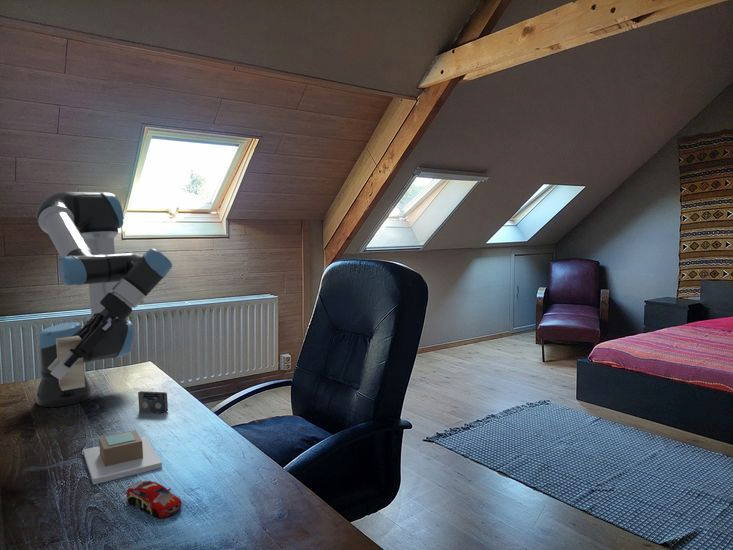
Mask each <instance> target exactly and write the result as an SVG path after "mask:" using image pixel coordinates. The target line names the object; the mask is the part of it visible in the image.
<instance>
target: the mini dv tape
mask: <svg viewBox="0 0 733 550" xmlns="http://www.w3.org/2000/svg"><path fill="white" fill-rule="evenodd" d="M137 397H138V412H139V413H144V412H154V413H153V414H162V413H165V414H167V413H168V412H169V406H168V404H169V403H168V393H167V392H165V391H164V392H163V391H142V390H141V391H138V394H137ZM167 411H168V412H167ZM157 412H158V413H157ZM166 412H167V413H166Z"/></svg>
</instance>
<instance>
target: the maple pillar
mask: <svg viewBox="0 0 733 550" xmlns="http://www.w3.org/2000/svg"><path fill="white" fill-rule="evenodd" d="M81 341H82V339H81V338H80V337H79V336H72V337H64V338H56V348H57V361H58V364H59V363H60V362H61V361H62V360H63V359H64V358H65V357H66V356H67V355H68V354H69V353H70V349H73V350H74V349H75V348H76V347H77V345H78V344H79V343H80V342H81ZM84 365H85V363H84V364H83V357H82V358H80V359H79V360H78V362H77V363H76V364H75V365H74V366H73V367H72V368H71V369H70V370H69V371H68V372H67V374H66V375H65V376H64V377H63V378H62V379H61V380H59V386H60V388H61V390H62V391H64V390H70V389H75V388H81V387H85V379H84V373H85V369H84V368H85V366H84Z"/></svg>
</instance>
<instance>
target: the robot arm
mask: <svg viewBox="0 0 733 550" xmlns="http://www.w3.org/2000/svg"><path fill="white" fill-rule="evenodd" d="M35 215H36V221H37V225H38V226H39V228H40V229H41V231H43V232H44V233H46V234H48V236H49V238H50V240H51V242H52V243H53V245H54V247H55V249H56V250H57V253H58V254H59V256H60V259H59V261H58V273H59V278H60V281H61V283H62V284H63V285H64V286H82V285H88V294H89V295H88V296H89V305H90V315H89V316H88V317H87V318H86V323H85V325H82V324H81V323H80V322H78V321H72V322H64V323H59V324H54V325H51V326H49V327H45V329H42V330H41V331H40V332H39V334H38V346H37V347H38V349H39V363H40V364H39V365H40V375H41V377H40V383H39V384H38V385H39V386H38V389H37V394H36V395H35V397H36V404H37V405H38V406H39V407H44V408H45V407H46V408H55V407H64V406H70V405H75V404H79V403H82V402H84V401H87V400H89V399H90V398H92V394H93V391H92V387H91V385H90V383H89V381H88V377H87V375H86V374H85V372H84V379H85V387H81V388H75V389H70V390H64V391H62V390H61V388H60V386H59V380H61V379H62V378H63V377H64V376H65V375H66V374H67V372H68V371H69V370H70V369H71V368H72V367H73V366H74V365H75V364H76V363H77V362H78V360H79V359H80V358H82V357H83V364H84V365H85V364H86V363H93V362H96V361H98V362H99V361H104V360H108V359H117V358H120V357H124V356H125V357H126V356H127V355H128V354H129V353H130V352H131V351H132V348H133V347H134V339H135V331H134V330H135V329H134V327H133V322H132V321H131V320H128V319H127V318H128V317H129V316H130V315H131V314H132V312H133V308H134V309H135V308H137V307H138V306H139V305H140V304H144V302H145V301H144V300H145V298H146V297H147V296H148V295H149V294H150V293H151V292H152V290H154V289H155V287H157V285H158V284H159V283H160V282H161V281H162V280H163V279H164V278H165V277H166V276H167V274H168V273H169V272H170V270H171V269H172V268H173V263H172V261H171V260H170V259H169V258H168V257H167V256H166V255H164V254H163V253H162V252H160V250H157V249H155V248H150V249H149V250H146V252H145V253H143V254H142V253H140V252H137V251H131V250H130V251H124V252H122V253H116V249H115V238H116V236H117V235H118V234H119V229H121V228H122V227H123V225H124V219H125V218H124V211H123V207H122V203H121V202H120V200H119V198H118V197H117V196H116V195H115V194H114V193H111V192H105V191H104V192H102V191H59V192H55V193H53V194H51V195H48V196H47V197H46V198H45V199H44V200H42V201H41V203H40V204H39V206H38V208H37V210H36V214H35ZM72 336H79V337H80V338H81V339H82V341H81V342H80V343H79V344H78V345H77V347H76V348H75V349H74V350H73V349H70V353H69V354H68V355H67V356H66V357H65V358H64V359H63V360H62V361H61V362H60V363H59V364H58V361H57V348H56V338H64V337H72Z"/></svg>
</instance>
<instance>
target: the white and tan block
mask: <svg viewBox="0 0 733 550" xmlns="http://www.w3.org/2000/svg"><path fill="white" fill-rule="evenodd" d="M98 442H99V446H98V445H97V446H93V447H88V448H84V449H83V450H82V453H83V457H84V460H85V463H86V466H87V470H88V473H89V476H90V479H91V482H92V485H97V484H102V483H105V482H109V481H113V480H117V479H118V480H119V479H121V478H126V477H130V476H134V475H137V474H138V475H139V474H142V473H146V472H150V471H153V470H158V469H161V468H163V462H162V460H161V459H160V457H159V455H158V454H157V453H156V451H155V449H154V448H153V446H152V445H151V443H150V442H149V440H148V438H147V437H146V435H145V436H140V435H139V433H138V432H137V430H136V429H134V430H133V429H132V430H129V431H123V432H119V433H115V434H109V435H104V436H100V437H98Z"/></svg>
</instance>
